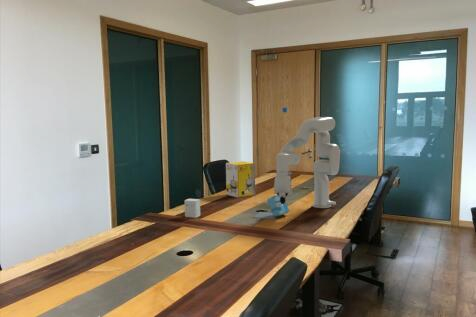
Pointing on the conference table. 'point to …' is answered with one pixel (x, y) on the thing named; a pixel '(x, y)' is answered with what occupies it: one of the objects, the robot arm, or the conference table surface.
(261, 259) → the conference table surface
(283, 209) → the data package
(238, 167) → the packaging box
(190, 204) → the small box
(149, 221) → the conference table surface
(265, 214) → the felt pad
